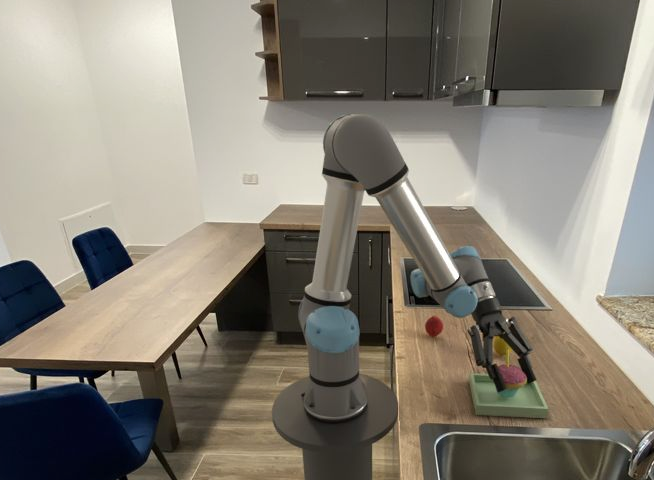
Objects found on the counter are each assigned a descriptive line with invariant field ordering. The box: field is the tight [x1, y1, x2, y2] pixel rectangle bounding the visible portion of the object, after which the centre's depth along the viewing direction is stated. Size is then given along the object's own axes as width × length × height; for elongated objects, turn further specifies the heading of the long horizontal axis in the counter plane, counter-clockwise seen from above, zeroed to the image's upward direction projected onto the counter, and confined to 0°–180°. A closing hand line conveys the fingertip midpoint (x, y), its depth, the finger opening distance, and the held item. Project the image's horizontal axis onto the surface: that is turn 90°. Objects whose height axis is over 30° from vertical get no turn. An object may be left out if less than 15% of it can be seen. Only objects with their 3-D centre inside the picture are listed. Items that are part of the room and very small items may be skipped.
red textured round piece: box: [424, 313, 444, 338], centre depth 143 cm, size 6×6×8 cm
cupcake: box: [491, 347, 527, 397], centre depth 109 cm, size 9×8×12 cm
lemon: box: [493, 332, 513, 357], centre depth 132 cm, size 6×6×8 cm
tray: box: [468, 372, 549, 419], centre depth 112 cm, size 17×15×3 cm
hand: (517, 386), depth 107 cm, fingers closed on cupcake, 8 cm apart
